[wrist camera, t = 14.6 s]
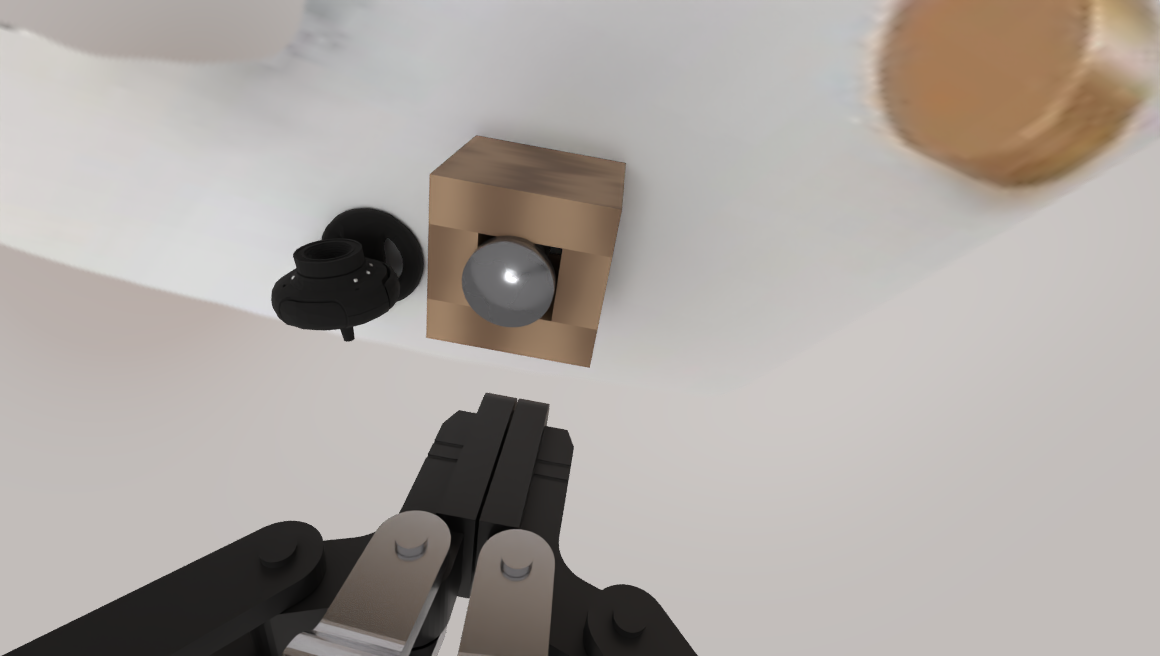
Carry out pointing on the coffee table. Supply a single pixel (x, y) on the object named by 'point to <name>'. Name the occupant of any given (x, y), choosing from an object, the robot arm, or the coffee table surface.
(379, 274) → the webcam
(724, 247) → the coffee table surface
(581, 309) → the block
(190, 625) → the robot arm
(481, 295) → the pin
